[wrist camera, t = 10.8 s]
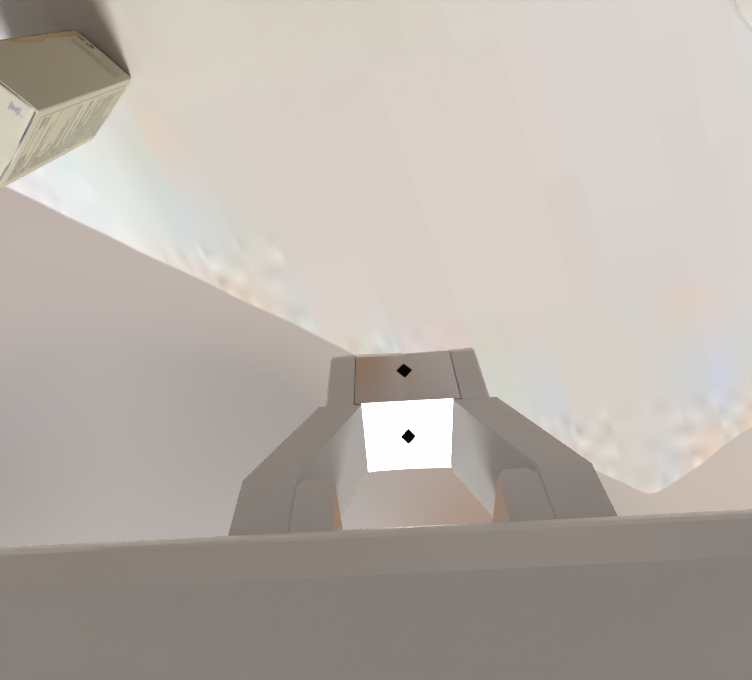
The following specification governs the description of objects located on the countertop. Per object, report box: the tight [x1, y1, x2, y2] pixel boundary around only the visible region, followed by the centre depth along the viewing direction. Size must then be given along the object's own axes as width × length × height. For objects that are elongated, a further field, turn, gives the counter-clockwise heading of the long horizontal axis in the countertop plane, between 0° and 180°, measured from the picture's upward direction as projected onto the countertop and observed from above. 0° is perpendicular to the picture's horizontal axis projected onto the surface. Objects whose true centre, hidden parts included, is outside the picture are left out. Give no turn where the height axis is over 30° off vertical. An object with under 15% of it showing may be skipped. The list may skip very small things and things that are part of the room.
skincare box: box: [0, 30, 130, 189], centre depth 30 cm, size 6×4×12 cm
